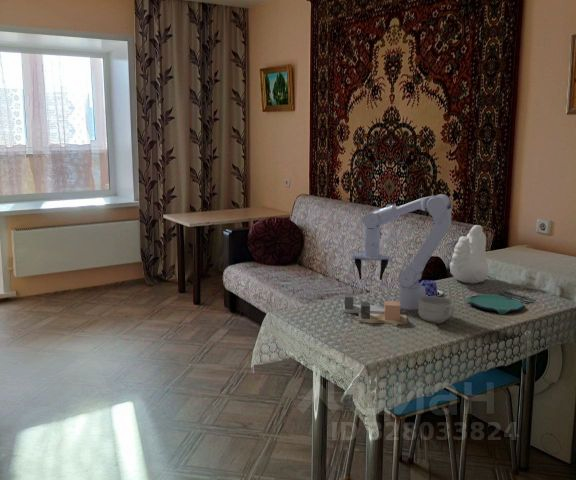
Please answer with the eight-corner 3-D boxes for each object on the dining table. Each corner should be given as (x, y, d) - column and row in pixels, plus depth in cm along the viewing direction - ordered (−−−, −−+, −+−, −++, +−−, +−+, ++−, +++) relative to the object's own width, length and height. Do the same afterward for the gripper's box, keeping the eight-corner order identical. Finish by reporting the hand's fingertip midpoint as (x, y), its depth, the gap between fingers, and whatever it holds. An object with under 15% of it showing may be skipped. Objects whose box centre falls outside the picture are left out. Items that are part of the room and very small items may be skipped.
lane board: (392, 310, 212) (392, 307, 212) (396, 328, 193) (397, 325, 192) (343, 308, 214) (343, 305, 214) (342, 326, 194) (342, 323, 194)
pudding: (410, 296, 232) (411, 283, 231) (415, 288, 243) (415, 276, 242) (441, 299, 227) (441, 286, 226) (444, 291, 238) (445, 279, 237)
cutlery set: (456, 304, 220) (457, 298, 220) (501, 293, 238) (501, 287, 238) (504, 318, 205) (504, 312, 204) (547, 305, 223) (548, 299, 223)
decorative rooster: (466, 274, 266) (470, 221, 262) (496, 281, 254) (500, 225, 249) (430, 282, 252) (433, 226, 247) (460, 290, 239) (464, 231, 235)
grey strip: (387, 308, 211) (387, 294, 210) (388, 314, 204) (389, 299, 203) (343, 306, 212) (343, 292, 211) (343, 312, 205) (343, 297, 204)
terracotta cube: (398, 315, 199) (399, 301, 198) (399, 320, 195) (400, 305, 194) (383, 314, 200) (384, 301, 199) (384, 319, 195) (385, 305, 194)
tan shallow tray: (405, 317, 200) (406, 302, 199) (407, 324, 194) (408, 308, 192) (358, 315, 202) (359, 300, 201) (359, 322, 195) (359, 306, 194)
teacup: (411, 318, 204) (412, 296, 202) (437, 314, 207) (438, 293, 206) (434, 330, 191) (436, 307, 189) (462, 327, 195) (463, 304, 193)
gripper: (352, 245, 213) (351, 281, 216) (392, 246, 212) (390, 282, 214) (352, 241, 220) (351, 276, 223) (390, 242, 219) (389, 277, 221)
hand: (370, 279), depth 219 cm, fingers open, 7 cm apart
